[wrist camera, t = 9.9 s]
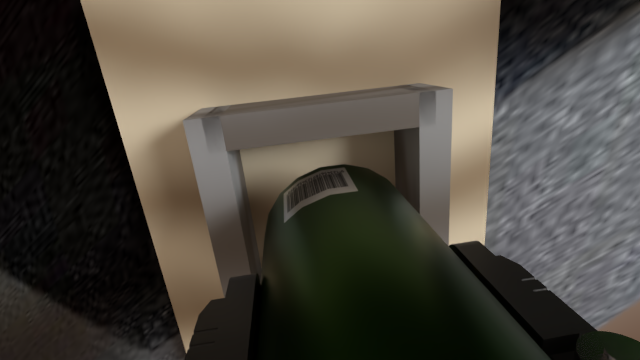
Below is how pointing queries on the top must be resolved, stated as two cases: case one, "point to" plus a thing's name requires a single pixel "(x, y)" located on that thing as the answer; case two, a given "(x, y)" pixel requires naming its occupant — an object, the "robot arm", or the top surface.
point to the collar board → (292, 116)
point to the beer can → (371, 280)
